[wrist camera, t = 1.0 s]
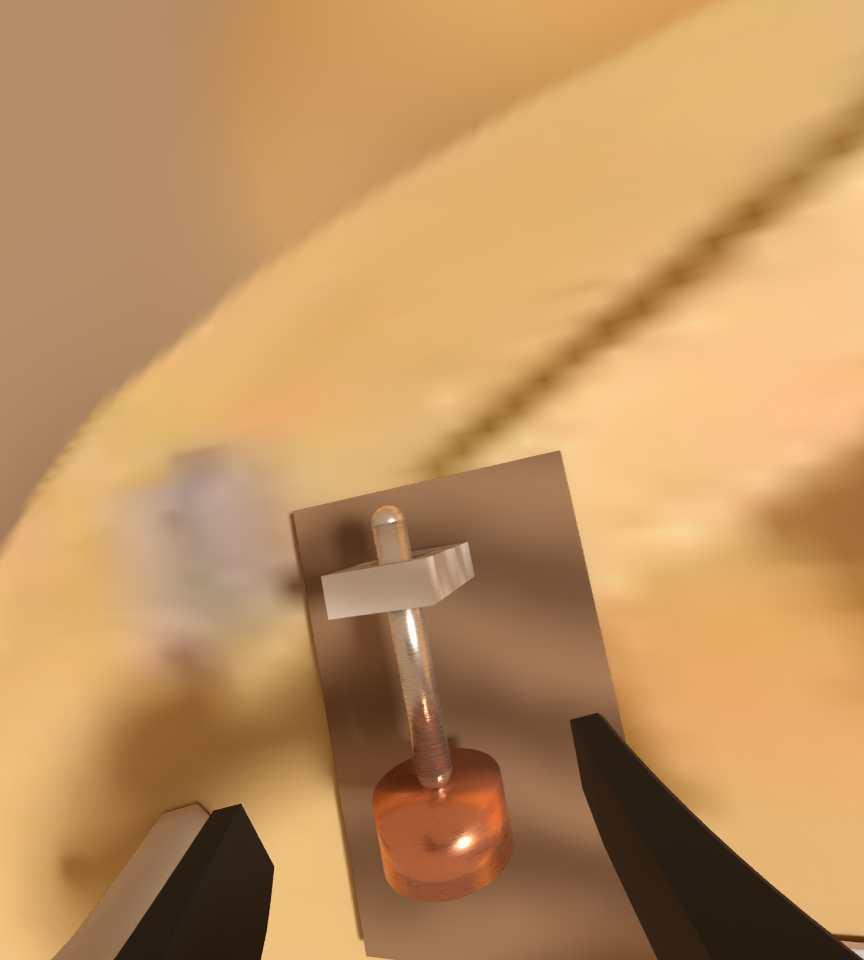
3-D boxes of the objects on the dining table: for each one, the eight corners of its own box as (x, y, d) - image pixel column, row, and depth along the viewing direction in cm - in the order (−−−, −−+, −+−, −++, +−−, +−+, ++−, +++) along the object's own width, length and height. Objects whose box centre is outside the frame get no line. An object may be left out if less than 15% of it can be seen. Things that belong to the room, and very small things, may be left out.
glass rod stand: (522, 805, 19) (500, 907, 14) (412, 805, 21) (359, 897, 16) (459, 493, 20) (421, 493, 16) (360, 514, 22) (297, 520, 17)
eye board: (677, 973, 19) (723, 1216, 13) (373, 941, 23) (292, 1108, 17) (560, 452, 21) (548, 433, 15) (301, 510, 25) (206, 516, 19)
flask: (132, 841, 29) (-93, 1012, 19) (202, 778, 27) (-6, 931, 18) (192, 955, 27) (-23, 1206, 17) (270, 895, 25) (81, 1135, 16)
